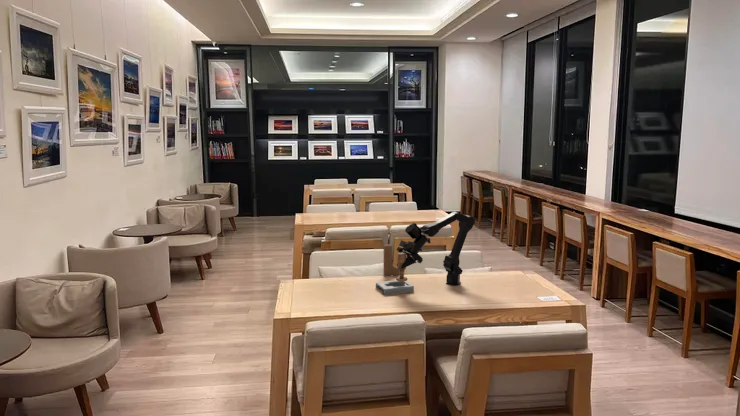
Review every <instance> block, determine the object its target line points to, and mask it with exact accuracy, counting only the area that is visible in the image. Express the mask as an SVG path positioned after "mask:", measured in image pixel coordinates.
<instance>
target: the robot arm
mask: <svg viewBox="0 0 740 416" xmlns="http://www.w3.org/2000/svg"><path fill="white" fill-rule="evenodd" d="M456 221H458V232H457V234H456V237H455V241H454V243H453V246H452V249H451V251H450V253H449V254H448V255H447V254H446V255H445V256H444V259H443V263H442V266H443V268H444V269H445V272H447V273H446V278H445V279H446V281H445V282H446V283H445V285H449V286H459V285H460V284H461V283H462V282H461V275H462V273H463V269H462V268H461V267H460V263H461V261H460V255H461V252H462V250H463V247H464V244H465V241H466V238H467V237H468V236H467V235H468V233H469V232H470V231H471V230H472V229H473V227H474V225H475V224H476V220H475V217H474V216H471V215H467V214H462V213H460V212H458V211H452V212H451V213H449V214H447V215H445V216H444V217H442V218H440V219H438V220H436V221H435V222H429V223H426V224H423V225H422V226H420V227H419V226H418V224H417V223H416V222H412V223H411V224H409V225H407V227H405V233H406V234H407V236H409V237H410V238H411V239H412V240H413V241H410V240H408V241H404V240H402V239H400V242H399V244H398V247H397V248H396V249H395V250H396V251H397V252H398V253H406V260H405V262H404V263H403V265H402V267H401V268H402V269H403V268H405V267H406V268H407V267H410V266H411V265H414V264H417V263H418V264H422V263H423V261H424V260H423V257H422V256H421V255H420V254H419V252H422V251H423V247H424V246H425V245H426V244H431V238H430V237H435V236H436V235H437V234H438V233H439V232H440V230H442V229H443V228H445V227H447V226H448V225H450V224H452V223H454V222H456ZM396 266H398V262H397V263H396Z"/></svg>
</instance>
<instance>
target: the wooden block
mask: <svg viewBox="0 0 740 416" xmlns="http://www.w3.org/2000/svg"><path fill="white" fill-rule="evenodd" d="M383 276H384V277H400V270H399V269H398V266H397V265H394V264H393V245H392V244H390V243H389V244H388V243H387V244H383Z"/></svg>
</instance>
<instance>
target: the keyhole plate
mask: <svg viewBox="0 0 740 416" xmlns="http://www.w3.org/2000/svg"><path fill="white" fill-rule="evenodd" d="M375 289H382V290H383V295H385V296H386V295H397V294H405V293H414V292H415V291H414V289H415V286H414V285H413V284H412V283H410V282H409V281H408V280H407V281H397V280H396V279H395V280H387V281H386V280H385V281H377V282H375Z"/></svg>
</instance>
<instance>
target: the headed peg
mask: <svg viewBox="0 0 740 416" xmlns="http://www.w3.org/2000/svg"><path fill="white" fill-rule="evenodd" d="M405 260H406V253H399V252H398V253H397V263H398V269H399V270H400V275H399V276H396V278H395V280H397V281H407V282H408V277H406V276H405V270H406V269H407V267H405V268H403V269H402V268H401V267H402V265H403V263H404V262H405Z"/></svg>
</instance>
